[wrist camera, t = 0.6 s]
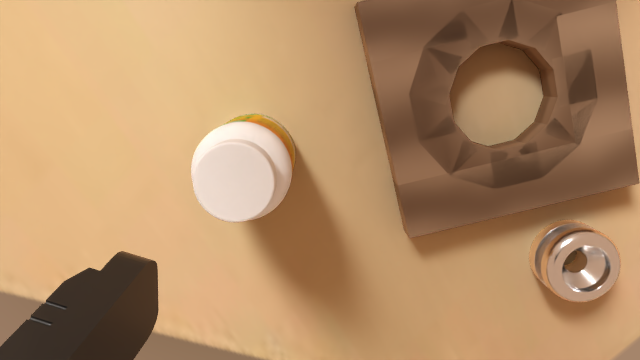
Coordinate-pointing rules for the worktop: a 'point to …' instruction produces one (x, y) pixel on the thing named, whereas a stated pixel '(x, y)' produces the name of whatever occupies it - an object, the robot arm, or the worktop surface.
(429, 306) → the worktop surface
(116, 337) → the robot arm
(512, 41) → the socket board
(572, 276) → the metal grooved wheel
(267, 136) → the supplement bottle
